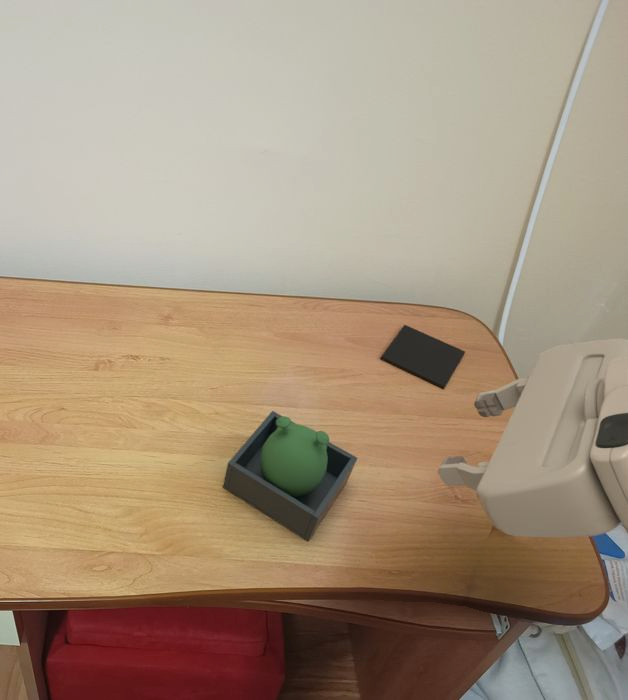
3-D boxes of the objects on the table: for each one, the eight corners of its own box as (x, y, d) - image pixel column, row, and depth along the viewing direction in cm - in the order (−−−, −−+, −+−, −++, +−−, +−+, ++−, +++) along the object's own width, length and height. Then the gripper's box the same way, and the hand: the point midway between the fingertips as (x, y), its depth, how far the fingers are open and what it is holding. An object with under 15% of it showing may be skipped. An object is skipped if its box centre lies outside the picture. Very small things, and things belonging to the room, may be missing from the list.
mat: (464, 354, 89) (465, 351, 88) (443, 389, 83) (444, 386, 83) (403, 327, 92) (404, 324, 92) (380, 359, 87) (381, 356, 87)
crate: (347, 481, 71) (357, 457, 68) (308, 541, 65) (318, 518, 62) (265, 435, 76) (272, 410, 73) (222, 487, 70) (227, 462, 67)
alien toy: (325, 468, 72) (348, 410, 65) (307, 521, 67) (330, 464, 60) (267, 446, 74) (283, 387, 67) (245, 495, 68) (261, 437, 62)
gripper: (661, 305, 48) (482, 343, 59) (615, 474, 36) (400, 483, 47) (691, 373, 49) (510, 398, 60) (657, 558, 37) (438, 548, 48)
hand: (462, 436), depth 53 cm, fingers open, 8 cm apart
